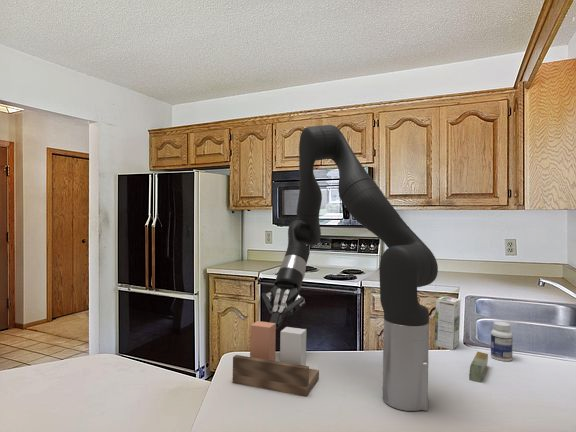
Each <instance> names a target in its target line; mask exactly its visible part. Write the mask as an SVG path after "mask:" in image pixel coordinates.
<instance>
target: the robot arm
mask: <svg viewBox="0 0 576 432" xmlns="http://www.w3.org/2000/svg"><path fill="white" fill-rule="evenodd" d="M298 143H299V144H298V153H299V154H298V157H299V159H298V162H299V163H298V166H299V167H298V170H299V191H298V199H297V205H296V217H297V218H298V219H295V220H293V221H291V223H289V225H288V229H287V237H288V239H287V241H288V243H287V248H286V251H285V255H284V258H283V260H282V262H281V264H280V267H279V268H278V269H279V270H278V273H277V275H276V277H275V280H274V283H273V284H274V285H273V287H271V289H270V292H267V293H266V292H262V293H261V297H262V299H263V301H264V303H265V306H266V308H267V310H268V311H269V314H271V317H270V320H269V323H276V330H278V329H279V328H280V327H282V323H283V321H284V317H291V316H292V315H294V314H295V313H296V312H298V310H300V309H301V308H302V307H304V306H305V305H306V301H305V297H303V296H301V294H300V291H301V289H302V288H301V287H302V284H303V281H304V277H305V276H306V275H305V274H306V269H307V263H308V261H309V259H310V258H309V257H310V249H309V247H308V246H311V247H312V246H313V247H314V246H316V245H317V244H318V243H319V242H320V240H321V236H322V235H321V234H322V232H321V231H322V230H321V229H322V228H321V224H320V212H321V206H322V201H323V200H322V199H323V195H322V189H321V188H320V185H319V183H318V180H317V179H316V176H315V173H314V167H315V162H316V161H323V160H332V161H333V163H334V164H335V165H336V167H337V169H338V171H339V179H338V185H337V186H338V187H337V189H338V196H339V199H340V200H341V202H342V203H343V205H344V207H345V208H346V210H347V211H348V213H349V215H350V216H351V217H352V218H353V219H354V220H355V221H356V222H358V223H359V224H360V225H361V226H363V227H364V228H365V229H367V230H368V231H369V232H371V233H372V234H374V235H375V236H376V237H377V238H379V239H380V240H381V241H382V242H383V243H384V244H385V245H386V247H387V249H385V250H384V251H383V253H382V255H381V258H380V262H379V297H380V299H379V300H380V305H381V308H382V310H383V337H382V338H383V340H382V341H383V345H382V349H383V350H382V387H381V389H382V396H381V397H382V400H383V402H384V403H385V404H386V405H388V406H389V407H392V408H394V409H398V410H401V411H405V412H406V411H407V412H408V411H409V412H416V411H424V412H425V411H426V412H427V411H428V402H429V401H428V399H429V397H428V395H429V392H428V391H429V339H430V337H429V336H430V335H429V334H430V333H429V331H430V310H429V309H428V308H427V307H426V306H424V305H422V304H421V303H419V300H418V298H419V297H418V296H419V295H418V288H421V287H426V286H428V285H431V284H432V283H433V282H435V281H436V279H437V276H438V273H439V268H438V262H437V259H436V256H435V255H434V253H433V251H432V250H431V249H430V248H429V247H428V246H427V245H426V243H425V242H424V241H423V240H422V239H421V238H420V237H419V236H418V235H417V234H416V233H415V232H414V231H413V230H412V229H411V227H410V226H409V225H407V223H406V222H405V221H404V220H403V217H401V215H400V214H399V213H398V211H397V210H396V209H395V208H394V206H393V205H392V203H391V202H390V201H389V200H388V199H387V197H386V196H385V194H384V193H383V192H382V190H381V188H380V187H379V186H378V184H377V182H376V181H375V180H374V179H373V177H372V176H370V174H369V173H368V172H367V171H366V169H365V168H364V166H363V165H362V163H361V162H360V161H359V159H358V158H357V156H356V154H355V152H354V151H353V149H352V148H351V146H350V145H349V143H348V141H347V139H346V137H345V136H344V134H343V133H342V131H341V129H340V128H338V127H337V126H336V125H333V124H324V125H314V126H307V127H305V128H304V129H303V130H302V131H301V134H300V137H299V141H298ZM272 299H273V306H272V304H271V301H272Z"/></svg>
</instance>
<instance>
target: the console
mask: <svg viewBox="0 0 576 432" xmlns="http://www.w3.org/2000/svg"><path fill="white" fill-rule="evenodd" d="M319 378H320V370H319V369H314V368H310V366H308V365H306V366H304V365H298V364H291V363H285V362H280V360H279V361H277V360H275V361H272V360H266V359H260V358H253V357H250V356H245V355H241V354H240V355H239V354H235V355H234V356H232V381H231V383H233V384H238V385H243V386H248V387H254V388H259V389H264V390H271V391H276V392H280V393H284V394H285V393H286V394H290V395H297V396H302V397H308V396H309V393H310V392H311V391H312V390H313V388H314V386H315V385H316V384H317V382H318V380H319Z"/></svg>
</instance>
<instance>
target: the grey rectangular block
mask: <svg viewBox="0 0 576 432" xmlns="http://www.w3.org/2000/svg"><path fill="white" fill-rule="evenodd" d="M279 342H280V346H279V348H280V349H279V362H285V363H291V364H298V365H304V366H307V364H306V363H307V328H298V327H290V326H285V327H284V328H283V329H281V330H280V340H279Z"/></svg>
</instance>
